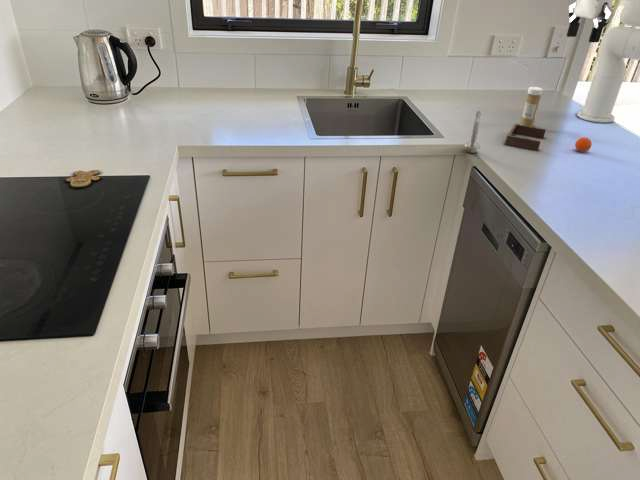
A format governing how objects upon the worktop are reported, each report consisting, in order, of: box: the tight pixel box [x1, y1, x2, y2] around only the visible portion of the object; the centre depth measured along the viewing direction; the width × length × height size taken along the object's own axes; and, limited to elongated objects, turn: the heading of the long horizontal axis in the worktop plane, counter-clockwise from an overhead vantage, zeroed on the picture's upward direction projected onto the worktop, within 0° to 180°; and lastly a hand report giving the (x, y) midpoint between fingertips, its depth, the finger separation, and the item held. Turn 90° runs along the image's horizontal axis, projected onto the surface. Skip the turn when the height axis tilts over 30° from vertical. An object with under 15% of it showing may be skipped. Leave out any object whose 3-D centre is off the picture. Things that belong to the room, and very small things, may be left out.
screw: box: [463, 110, 482, 154], centre depth 146 cm, size 13×5×5 cm
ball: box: [574, 136, 593, 153], centre depth 150 cm, size 4×4×4 cm
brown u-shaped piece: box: [504, 123, 547, 152], centre depth 158 cm, size 14×10×3 cm
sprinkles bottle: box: [519, 86, 544, 127], centre depth 167 cm, size 5×5×14 cm
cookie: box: [65, 169, 101, 189], centre depth 126 cm, size 8×1×10 cm
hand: (582, 39), depth 146 cm, fingers open, 9 cm apart
